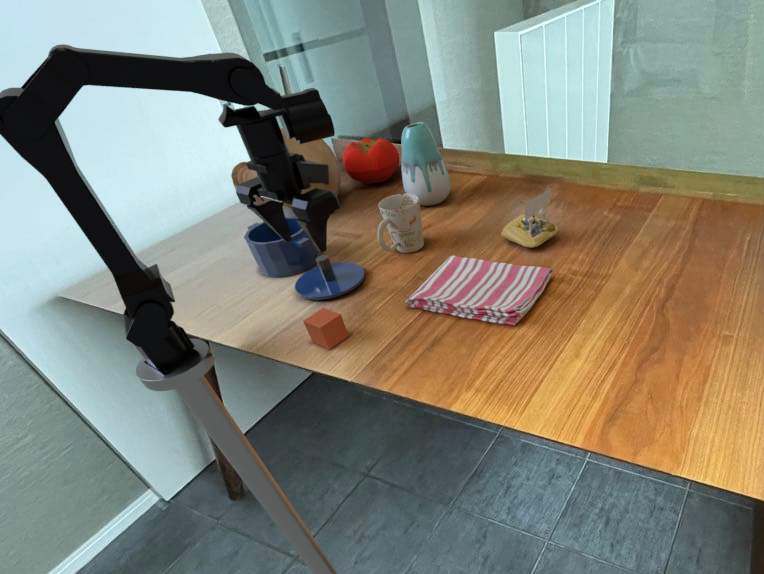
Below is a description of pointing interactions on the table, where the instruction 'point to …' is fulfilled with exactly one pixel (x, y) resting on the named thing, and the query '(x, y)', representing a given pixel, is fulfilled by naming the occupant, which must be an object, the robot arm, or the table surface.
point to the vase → (423, 166)
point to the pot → (281, 249)
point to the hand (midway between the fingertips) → (305, 246)
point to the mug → (401, 223)
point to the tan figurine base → (531, 224)
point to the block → (326, 328)
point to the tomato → (371, 160)
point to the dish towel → (481, 290)
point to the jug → (310, 152)
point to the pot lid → (329, 279)
